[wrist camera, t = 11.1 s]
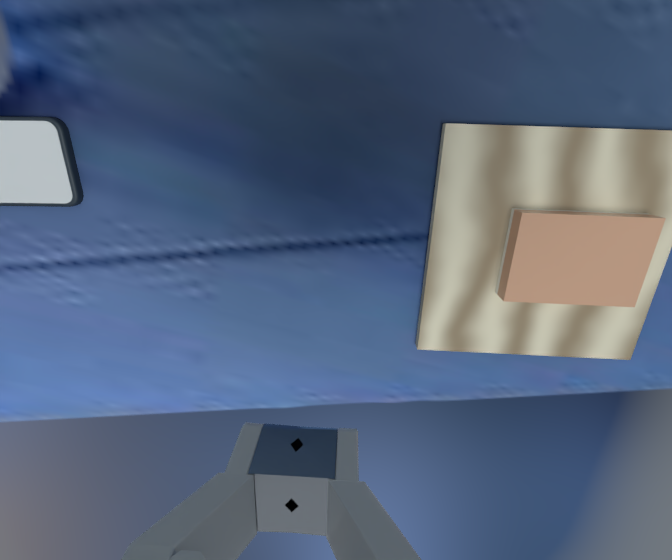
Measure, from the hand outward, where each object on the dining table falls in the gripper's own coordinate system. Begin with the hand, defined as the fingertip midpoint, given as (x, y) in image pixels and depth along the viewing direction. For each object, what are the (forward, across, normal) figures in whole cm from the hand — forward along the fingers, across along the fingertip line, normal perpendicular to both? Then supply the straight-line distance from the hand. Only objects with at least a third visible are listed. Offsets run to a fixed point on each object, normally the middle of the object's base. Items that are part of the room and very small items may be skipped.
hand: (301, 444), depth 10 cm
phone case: (+32, +35, -4) cm, 47 cm away
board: (+31, -22, +3) cm, 38 cm away
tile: (+29, -17, +3) cm, 33 cm away
